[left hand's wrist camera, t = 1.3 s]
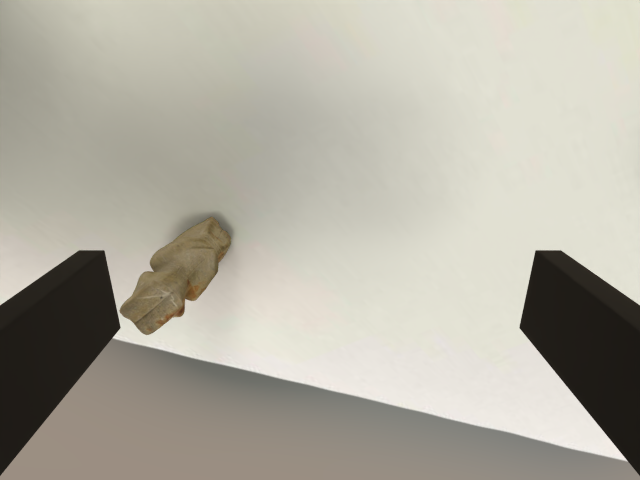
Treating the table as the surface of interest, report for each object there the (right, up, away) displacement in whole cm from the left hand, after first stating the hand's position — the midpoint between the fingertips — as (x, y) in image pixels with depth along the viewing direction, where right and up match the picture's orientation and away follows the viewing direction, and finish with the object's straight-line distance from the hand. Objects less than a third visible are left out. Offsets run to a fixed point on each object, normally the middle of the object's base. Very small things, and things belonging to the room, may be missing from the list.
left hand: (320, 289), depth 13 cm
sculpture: (-13, +2, +34) cm, 37 cm away
